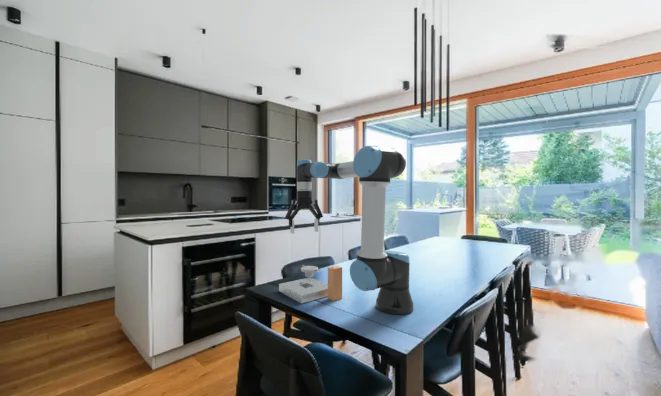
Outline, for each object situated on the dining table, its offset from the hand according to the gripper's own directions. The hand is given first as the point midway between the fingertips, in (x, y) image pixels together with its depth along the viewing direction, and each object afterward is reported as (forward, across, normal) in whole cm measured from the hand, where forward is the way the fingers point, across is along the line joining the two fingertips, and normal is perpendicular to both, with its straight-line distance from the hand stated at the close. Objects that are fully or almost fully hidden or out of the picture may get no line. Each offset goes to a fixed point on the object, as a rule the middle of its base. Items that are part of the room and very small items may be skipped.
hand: (304, 232), depth 151 cm
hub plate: (+27, +5, +10) cm, 29 cm away
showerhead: (+27, -6, -8) cm, 29 cm away
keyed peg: (+27, -3, +24) cm, 36 cm away
